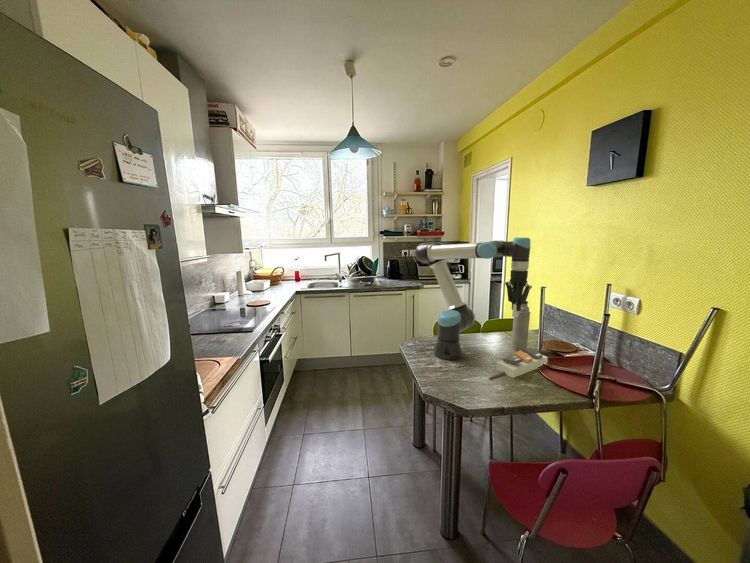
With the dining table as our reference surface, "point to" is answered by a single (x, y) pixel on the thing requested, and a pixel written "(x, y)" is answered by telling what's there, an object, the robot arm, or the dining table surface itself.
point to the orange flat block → (523, 356)
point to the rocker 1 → (512, 360)
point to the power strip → (519, 367)
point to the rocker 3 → (533, 353)
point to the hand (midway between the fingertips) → (515, 316)
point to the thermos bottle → (521, 329)
